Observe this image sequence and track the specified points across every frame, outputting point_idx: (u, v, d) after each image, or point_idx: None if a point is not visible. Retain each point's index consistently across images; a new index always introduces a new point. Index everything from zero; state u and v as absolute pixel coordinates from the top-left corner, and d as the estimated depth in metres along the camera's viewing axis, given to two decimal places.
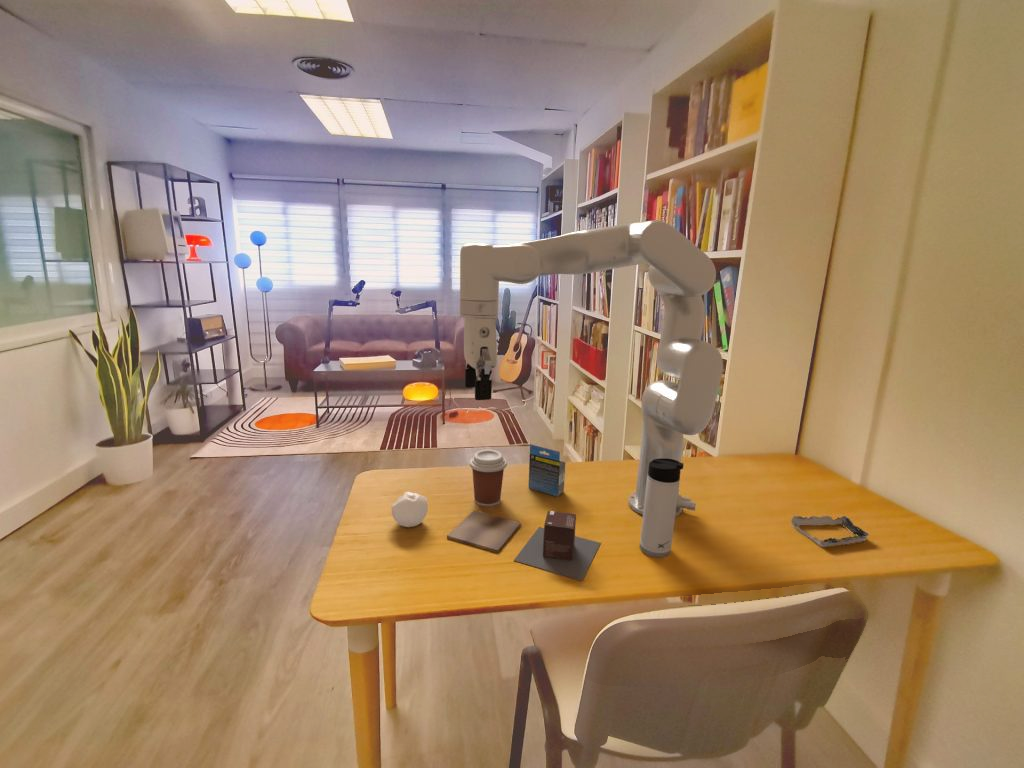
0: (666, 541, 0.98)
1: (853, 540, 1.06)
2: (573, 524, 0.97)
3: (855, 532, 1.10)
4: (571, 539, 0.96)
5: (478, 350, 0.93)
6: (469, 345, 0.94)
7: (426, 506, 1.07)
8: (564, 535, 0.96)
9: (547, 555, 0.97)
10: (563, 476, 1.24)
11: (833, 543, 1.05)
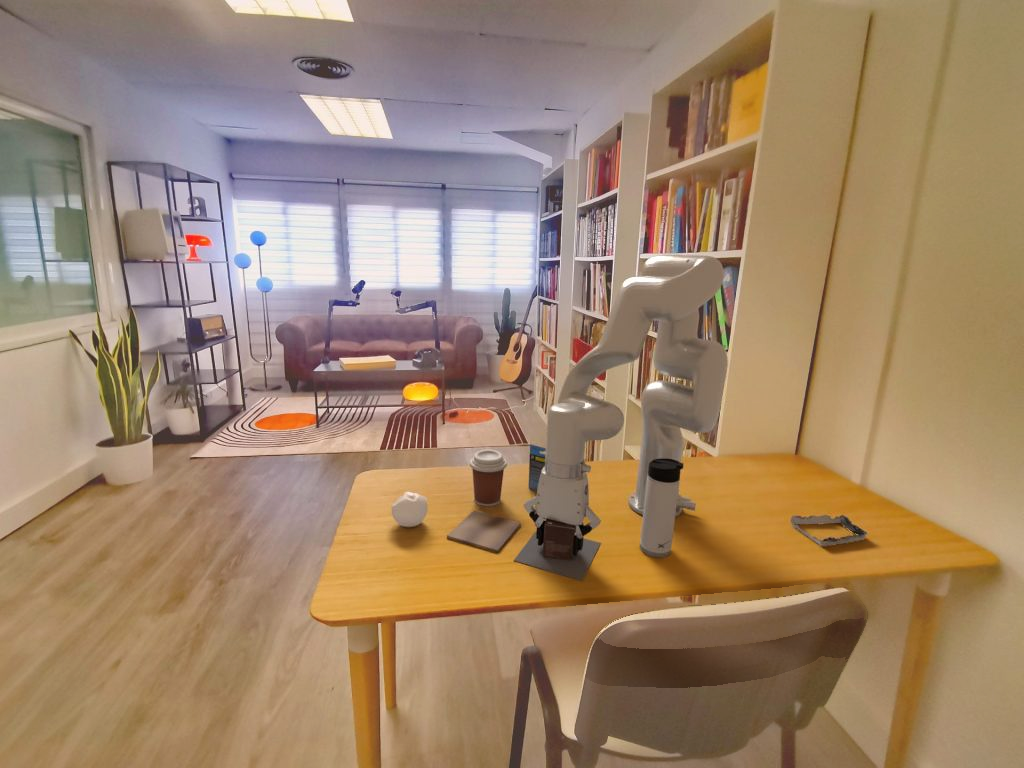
0: (666, 541, 0.98)
1: (852, 538, 1.07)
2: None
3: (854, 531, 1.11)
4: (571, 539, 0.96)
5: (584, 508, 0.94)
6: (570, 505, 0.94)
7: (426, 506, 1.07)
8: (564, 535, 0.96)
9: (547, 555, 0.97)
10: None
11: (833, 542, 1.06)
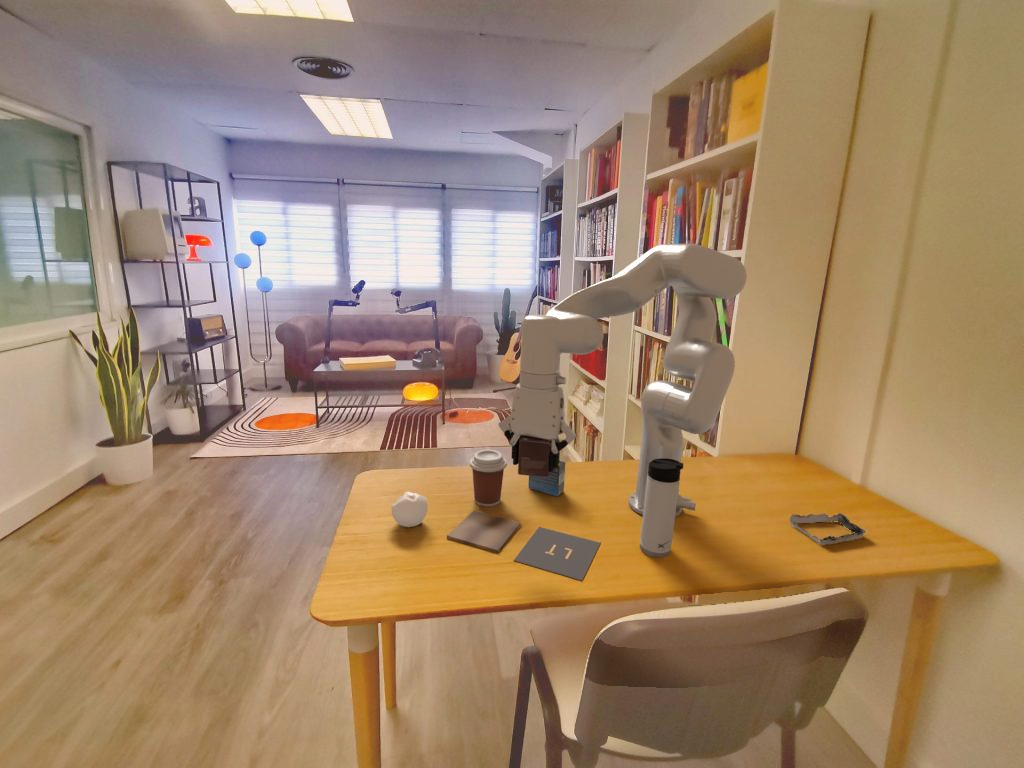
0: (666, 541, 0.98)
1: (851, 537, 1.07)
2: None
3: (852, 529, 1.11)
4: (546, 454, 0.94)
5: (559, 421, 0.93)
6: (545, 418, 0.92)
7: (426, 506, 1.07)
8: (539, 451, 0.94)
9: (522, 472, 0.95)
10: (563, 476, 1.24)
11: (832, 541, 1.06)
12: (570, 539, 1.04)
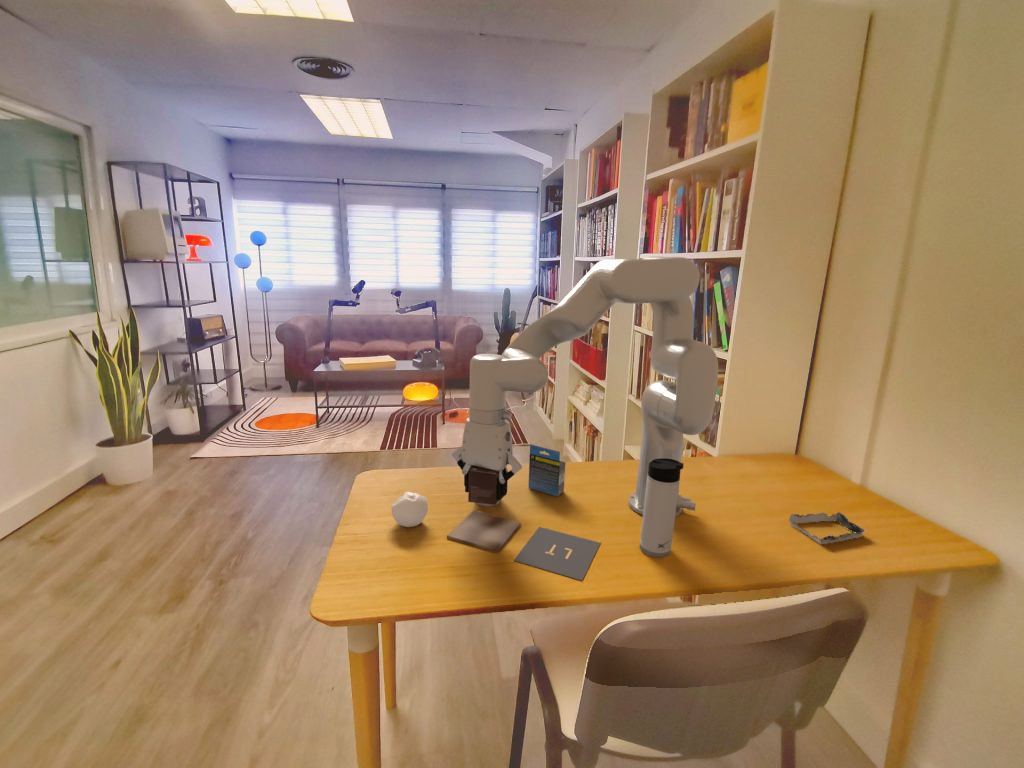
0: (666, 541, 0.98)
1: (850, 536, 1.08)
2: None
3: (850, 528, 1.12)
4: (494, 484, 1.00)
5: (505, 454, 0.99)
6: (492, 451, 0.99)
7: (426, 506, 1.07)
8: (487, 480, 1.00)
9: (472, 500, 1.02)
10: (563, 476, 1.24)
11: (832, 540, 1.06)
12: (570, 539, 1.04)
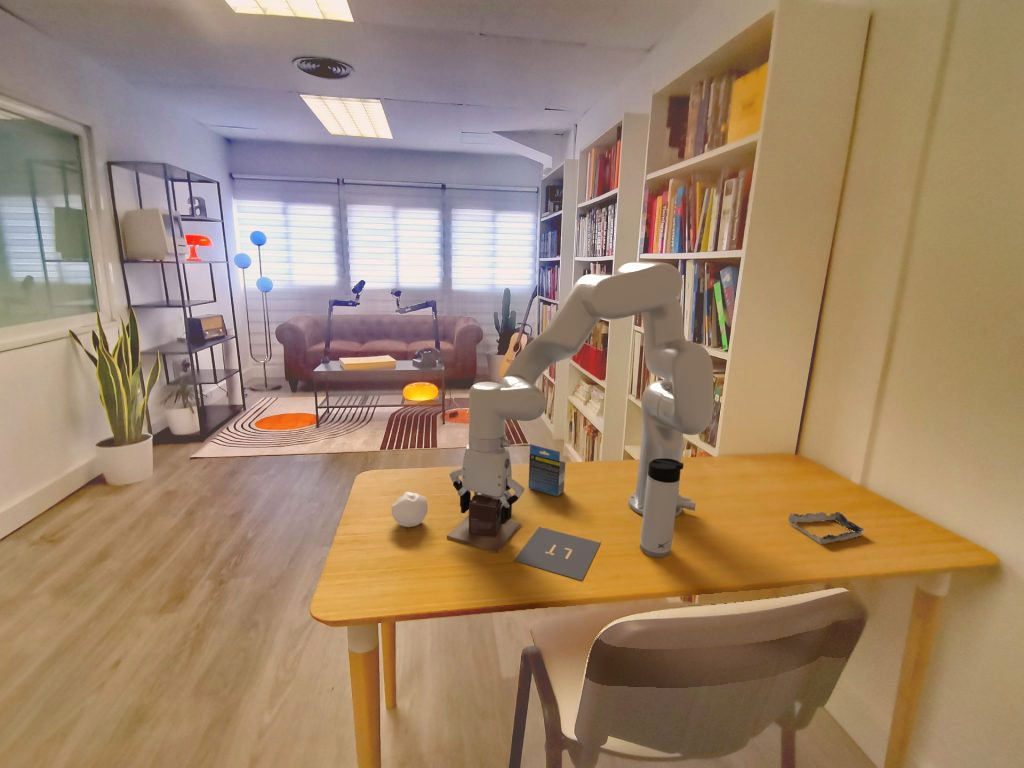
0: (666, 541, 0.98)
1: (849, 535, 1.08)
2: (496, 503, 1.03)
3: (849, 527, 1.12)
4: (493, 517, 1.02)
5: (505, 480, 1.00)
6: (491, 478, 1.00)
7: (426, 506, 1.07)
8: (487, 513, 1.02)
9: (472, 532, 1.04)
10: (563, 476, 1.24)
11: (831, 540, 1.07)
12: (570, 539, 1.04)
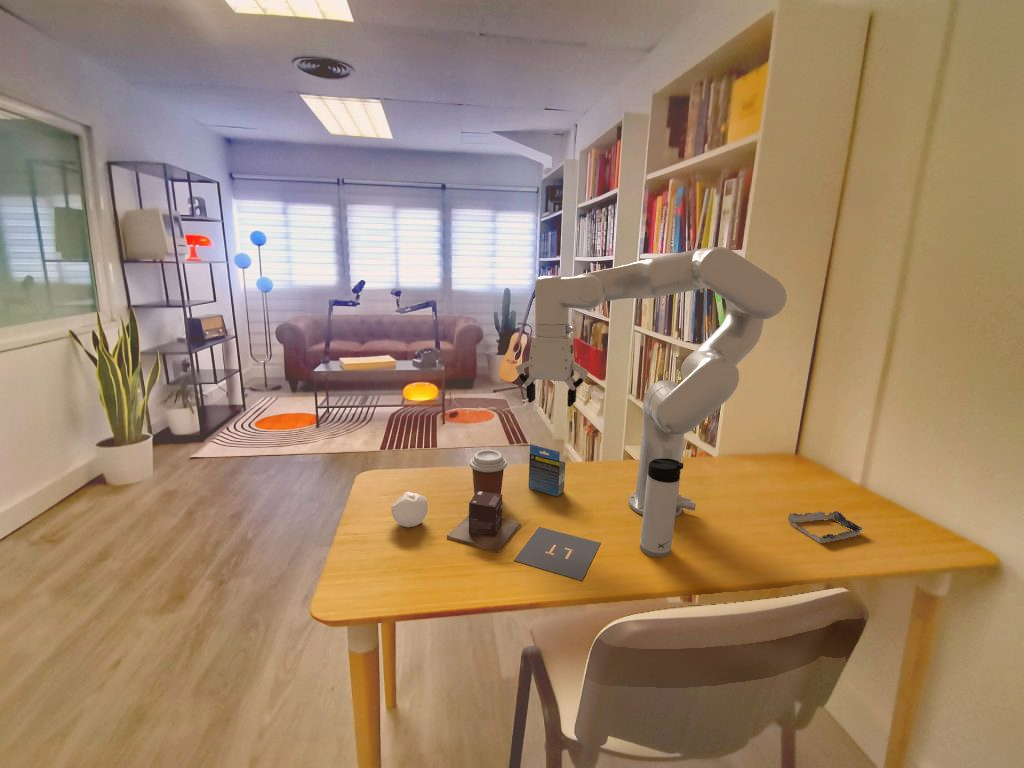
0: (666, 541, 0.98)
1: (848, 534, 1.08)
2: (496, 503, 1.03)
3: (848, 526, 1.12)
4: (493, 517, 1.02)
5: (571, 364, 1.10)
6: (559, 362, 1.10)
7: (426, 506, 1.07)
8: (487, 513, 1.02)
9: (472, 532, 1.04)
10: (563, 476, 1.24)
11: (831, 539, 1.07)
12: (570, 539, 1.04)
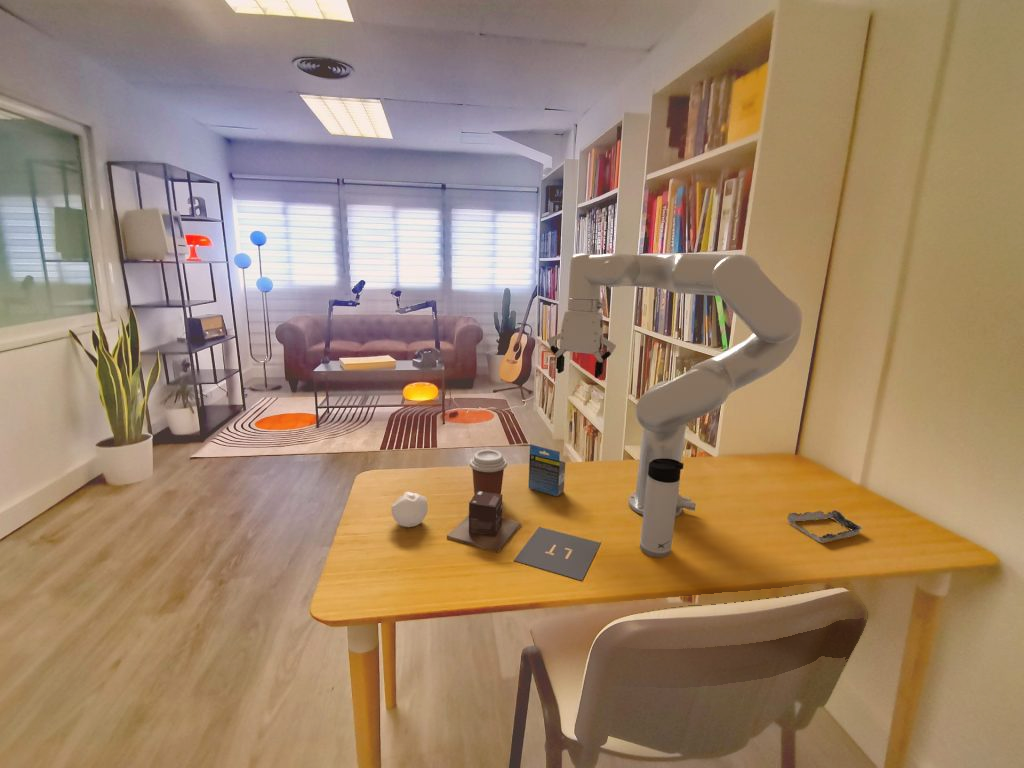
0: (666, 541, 0.98)
1: (848, 534, 1.09)
2: (496, 503, 1.03)
3: (847, 526, 1.13)
4: (493, 517, 1.02)
5: (600, 338, 1.18)
6: (588, 335, 1.17)
7: (426, 506, 1.07)
8: (487, 513, 1.02)
9: (472, 532, 1.04)
10: (563, 476, 1.24)
11: (830, 538, 1.07)
12: (570, 539, 1.04)
